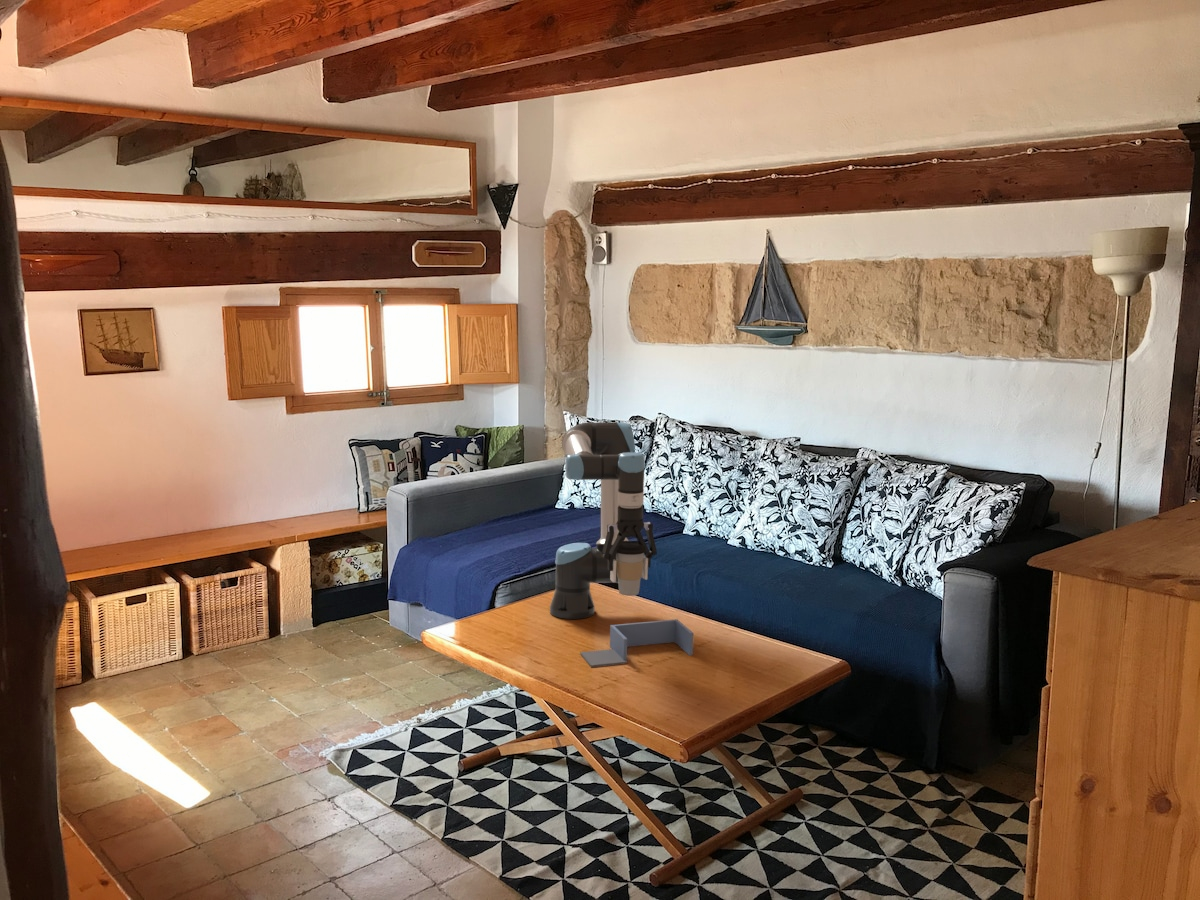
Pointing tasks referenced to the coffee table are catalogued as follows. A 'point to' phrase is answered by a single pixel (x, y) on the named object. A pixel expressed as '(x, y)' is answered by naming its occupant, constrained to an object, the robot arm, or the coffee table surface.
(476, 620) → the coffee table surface
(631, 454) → the robot arm
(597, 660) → the coaster
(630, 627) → the grey u-shaped wall
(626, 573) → the coffee cup
